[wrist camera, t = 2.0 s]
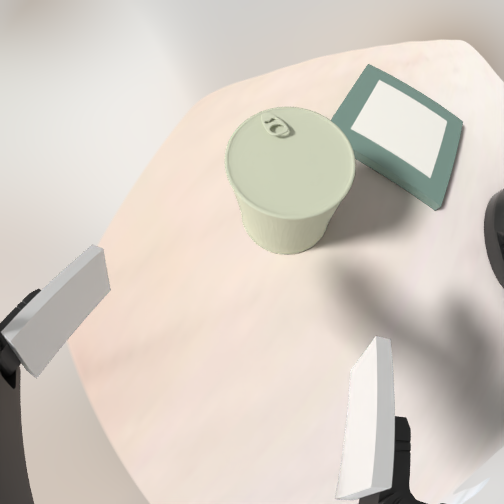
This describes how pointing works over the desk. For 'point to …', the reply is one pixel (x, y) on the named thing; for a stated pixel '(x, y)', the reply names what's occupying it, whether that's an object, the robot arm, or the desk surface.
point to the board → (400, 134)
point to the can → (288, 176)
